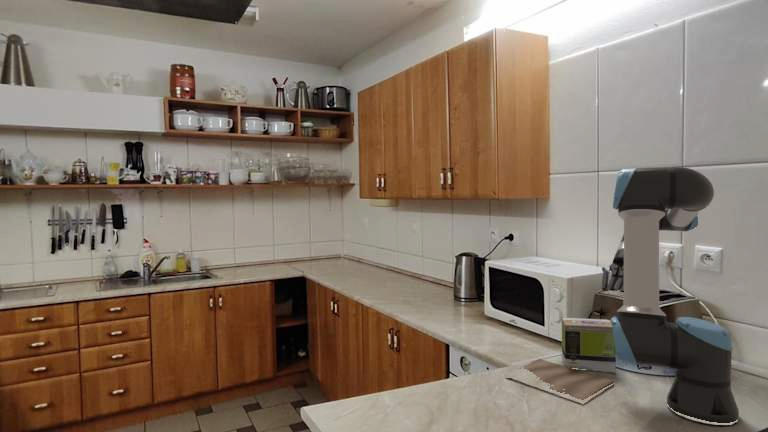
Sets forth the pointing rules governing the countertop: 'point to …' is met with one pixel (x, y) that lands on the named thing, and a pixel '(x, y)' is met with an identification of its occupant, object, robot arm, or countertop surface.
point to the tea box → (588, 344)
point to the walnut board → (568, 379)
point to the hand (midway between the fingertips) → (606, 309)
